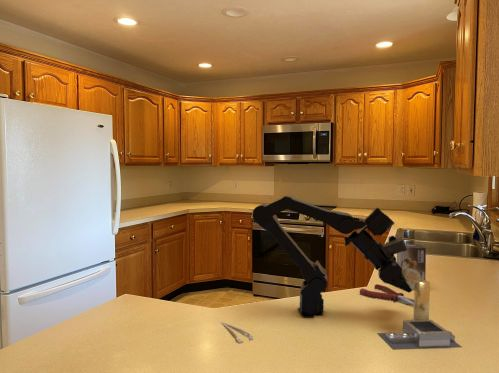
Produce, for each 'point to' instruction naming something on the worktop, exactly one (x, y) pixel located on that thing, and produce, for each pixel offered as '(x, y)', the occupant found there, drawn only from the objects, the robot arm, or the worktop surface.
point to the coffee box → (413, 263)
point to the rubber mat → (411, 344)
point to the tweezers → (237, 331)
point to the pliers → (387, 295)
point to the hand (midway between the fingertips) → (408, 286)
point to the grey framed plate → (422, 334)
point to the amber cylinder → (421, 299)
